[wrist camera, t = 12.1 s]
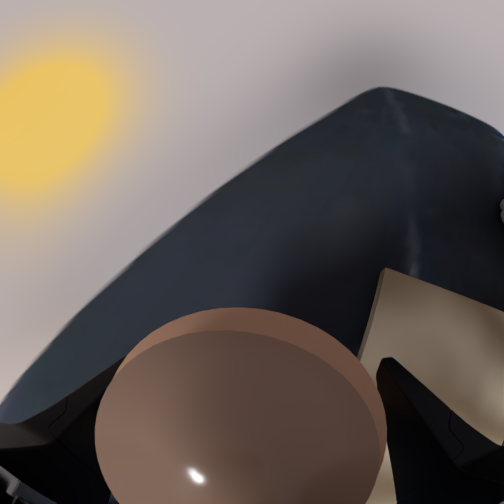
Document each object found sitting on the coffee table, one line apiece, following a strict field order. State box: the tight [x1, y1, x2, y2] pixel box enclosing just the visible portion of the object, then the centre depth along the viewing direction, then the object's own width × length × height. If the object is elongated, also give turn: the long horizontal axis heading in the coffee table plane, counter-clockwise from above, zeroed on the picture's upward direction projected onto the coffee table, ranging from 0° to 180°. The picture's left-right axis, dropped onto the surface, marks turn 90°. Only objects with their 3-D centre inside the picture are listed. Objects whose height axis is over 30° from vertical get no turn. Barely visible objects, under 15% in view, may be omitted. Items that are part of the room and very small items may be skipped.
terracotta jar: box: [95, 307, 387, 504], centre depth 9 cm, size 5×5×13 cm
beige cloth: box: [357, 267, 504, 504], centre depth 12 cm, size 16×16×1 cm
